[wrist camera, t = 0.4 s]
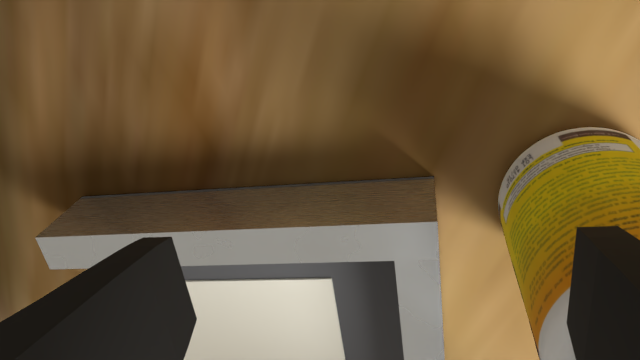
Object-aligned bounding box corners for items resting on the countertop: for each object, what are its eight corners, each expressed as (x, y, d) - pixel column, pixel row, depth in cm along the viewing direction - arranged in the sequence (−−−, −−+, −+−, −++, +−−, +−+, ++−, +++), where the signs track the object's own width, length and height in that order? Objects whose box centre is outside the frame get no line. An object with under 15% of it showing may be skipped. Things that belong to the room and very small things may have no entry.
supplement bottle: (463, 206, 20) (506, 452, 11) (570, 90, 17) (742, 287, 8) (578, 278, 20) (707, 564, 12) (697, 176, 18) (983, 446, 9)
